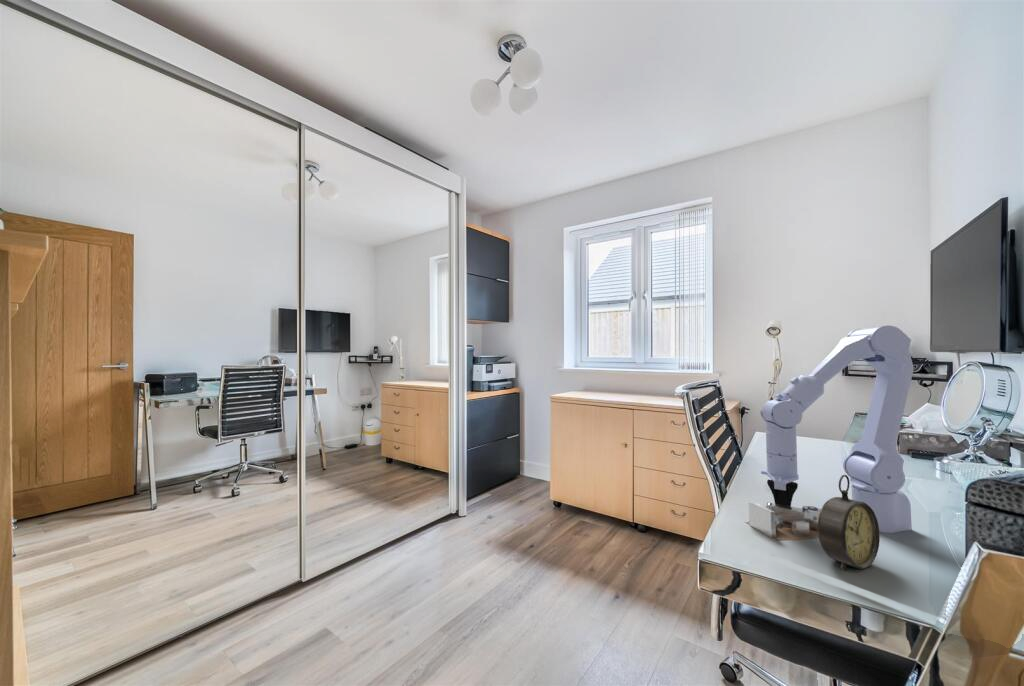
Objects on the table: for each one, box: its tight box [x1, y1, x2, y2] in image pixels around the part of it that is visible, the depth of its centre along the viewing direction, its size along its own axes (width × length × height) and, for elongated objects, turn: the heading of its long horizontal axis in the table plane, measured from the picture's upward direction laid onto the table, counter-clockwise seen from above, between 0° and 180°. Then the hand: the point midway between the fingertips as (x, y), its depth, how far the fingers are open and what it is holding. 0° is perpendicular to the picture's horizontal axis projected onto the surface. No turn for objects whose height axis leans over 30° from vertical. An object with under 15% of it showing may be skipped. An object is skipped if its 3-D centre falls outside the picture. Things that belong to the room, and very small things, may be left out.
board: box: [744, 521, 819, 542], centre depth 82 cm, size 17×9×1 cm, turn 98°
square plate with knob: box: [748, 500, 809, 538], centre depth 82 cm, size 9×6×5 cm, turn 98°
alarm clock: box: [818, 474, 880, 571], centre depth 69 cm, size 11×5×16 cm, turn 114°
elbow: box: [765, 502, 822, 530], centre depth 85 cm, size 10×4×4 cm, turn 49°
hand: (783, 514), depth 88 cm, fingers closed, pressing on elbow
